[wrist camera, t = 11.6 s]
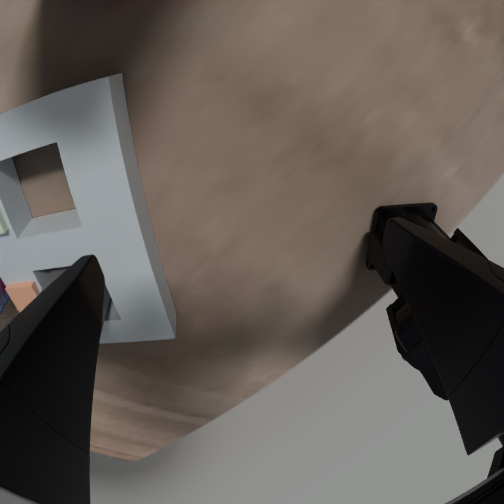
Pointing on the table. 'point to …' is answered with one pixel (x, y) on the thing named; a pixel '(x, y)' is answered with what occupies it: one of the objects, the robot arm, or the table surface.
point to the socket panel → (85, 209)
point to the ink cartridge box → (3, 295)
